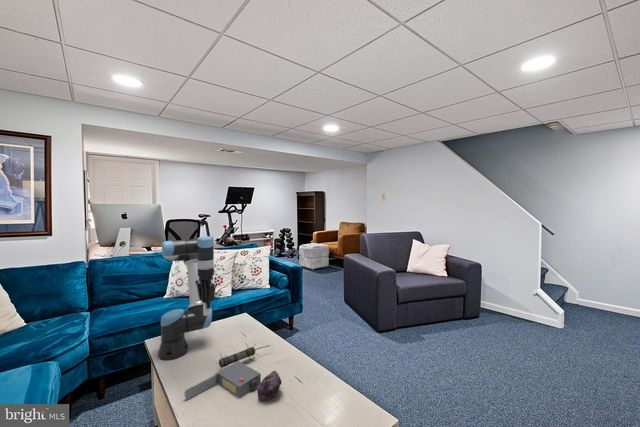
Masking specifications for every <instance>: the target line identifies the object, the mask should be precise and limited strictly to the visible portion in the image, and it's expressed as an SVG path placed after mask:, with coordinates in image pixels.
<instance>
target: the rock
mask: <svg viewBox="0 0 640 427" xmlns="http://www.w3.org/2000/svg"><path fill="white" fill-rule="evenodd" d="M282 383H283V382H282V380H281V376H280V375H279V373H278V372H277V370H271V371H270V373H269V374H267V375H266V376H264V378H263V379H262V380H261V383H260V385H258V386H257V388H256V389H257V398H258V399H259V400H260V401H261V402H262V401H263V402H265V401H268V400H269V399H273V398H275V397H276V395H277V394H278V392H279V391H280V390H279V389H280V387H281V385H282Z"/></svg>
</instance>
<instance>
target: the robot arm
mask: <svg viewBox="0 0 640 427" xmlns="http://www.w3.org/2000/svg"><path fill="white" fill-rule="evenodd" d="M214 246H215V243H214V237H212V236H210V235H209V236H208V235H207V236H199V237H197V238H195V239H193V238H192V239H182V240H179V239H178V240H167V241H166V240H165V241H162V242H161V256H162V257H163V259H165V260H167V261H171V262H183V264H184V265H185V266H186V268H187V284H188V293H189V294H188V295H189V305H188V306H187V310H184V309H183V308H177V309H172V310H169V311H167V312H165V313H163V315H162V316H161V318H160V330H161V331H160V332H161V336H160V341H161V342H160V345H159V349H158V351H157V356H158V357H159V358H160V359H159V358H158V359H159V360H162V361H172V360H176V359H178V358H181V357H183V356H185V354H187V353H188V351H189V345H188V341H187V340H186V337H185V334H186V333H191V332H194V331H201V330H203V329H206V328H209V327H211V324H212V320H213V309H212V306H211V302H213V301H214V300H215V293H216V288H217V286H218V283H217V282H215V281H214V278H213V277H214V275H215V267H214V266H215V261H214V258H215V255H214V254H215V253H214V252H215V251H214V249H215V248H214Z"/></svg>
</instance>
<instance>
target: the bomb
mask: <svg viewBox="0 0 640 427" xmlns="http://www.w3.org/2000/svg"><path fill="white" fill-rule="evenodd" d="M245 345H246V346H247V348H246V349H244V350H242V351H239V352H236V353H233V354H231V355H227V356H224V357H222V355H221V353H219V355H220V356H221V358H220V359H219V360H218V362H217V363H215V364H216V365H217V364H218V365H219V367H220V370H219V371H221V370H222V368H226V367H228V366H230V365H232V364H234V363H236V362H237V361H239V362H240V361H241V360H244V359H246V358H249V359H251V357H253V358H254V359H256V357H255V356H254V355H258V356H260V354H259V353H257V354H256V351H257V350H260V349H263V348H267V347H270V346H271V344H269V345H266V346H261V347H258V348H256V349H255V346H256V345H257V343H255V344H254V345H253V346H251V347H250V346H249V345H248V344H247V343H245Z"/></svg>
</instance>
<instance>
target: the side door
mask: <svg viewBox="0 0 640 427" xmlns="http://www.w3.org/2000/svg"><path fill="white" fill-rule="evenodd" d="M215 385H219V384H218V376H217V372H216V373H214V374H213V375H211V376H210V377H207V378H205V379H204V380H202V381H199V382H197V383H196V384H194V385H191V386H189V387H188V388H186V389H184V393H183V395H184V399H185V401H188V400H189V399H191V398H193V397H195V396H197V395H199V394H201V393H203V392H204V391H206V390H208V389H210V388H212V387H214V386H215Z"/></svg>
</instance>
